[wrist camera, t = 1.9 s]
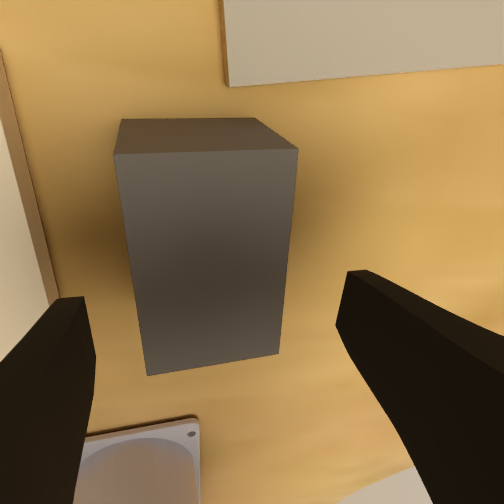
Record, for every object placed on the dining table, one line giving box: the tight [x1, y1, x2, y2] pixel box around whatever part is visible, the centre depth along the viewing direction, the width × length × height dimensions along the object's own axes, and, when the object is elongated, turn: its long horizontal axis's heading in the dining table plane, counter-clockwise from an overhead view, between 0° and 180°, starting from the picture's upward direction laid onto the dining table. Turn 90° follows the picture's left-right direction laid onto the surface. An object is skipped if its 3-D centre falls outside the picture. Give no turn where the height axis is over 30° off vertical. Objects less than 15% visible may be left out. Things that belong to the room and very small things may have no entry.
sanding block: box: [113, 118, 299, 376], centre depth 14 cm, size 8×5×5 cm, turn 178°
